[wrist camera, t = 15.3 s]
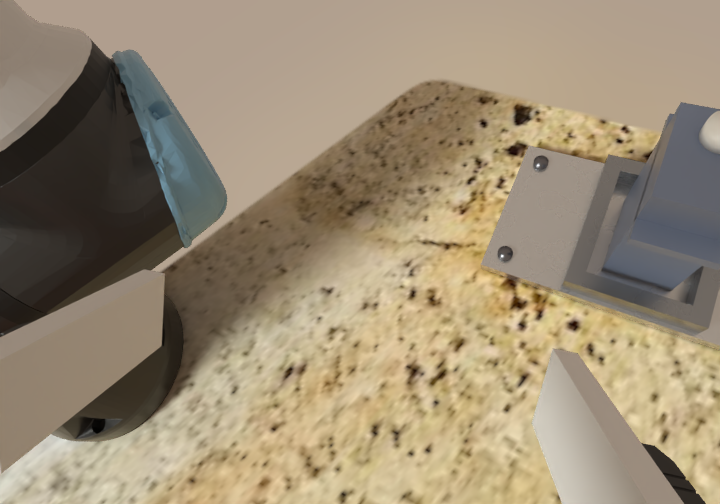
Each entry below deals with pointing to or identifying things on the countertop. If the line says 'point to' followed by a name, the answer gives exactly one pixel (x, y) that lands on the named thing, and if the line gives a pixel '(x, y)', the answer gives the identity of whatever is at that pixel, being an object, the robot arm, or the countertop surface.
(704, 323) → the chassis
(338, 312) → the countertop surface
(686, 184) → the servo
